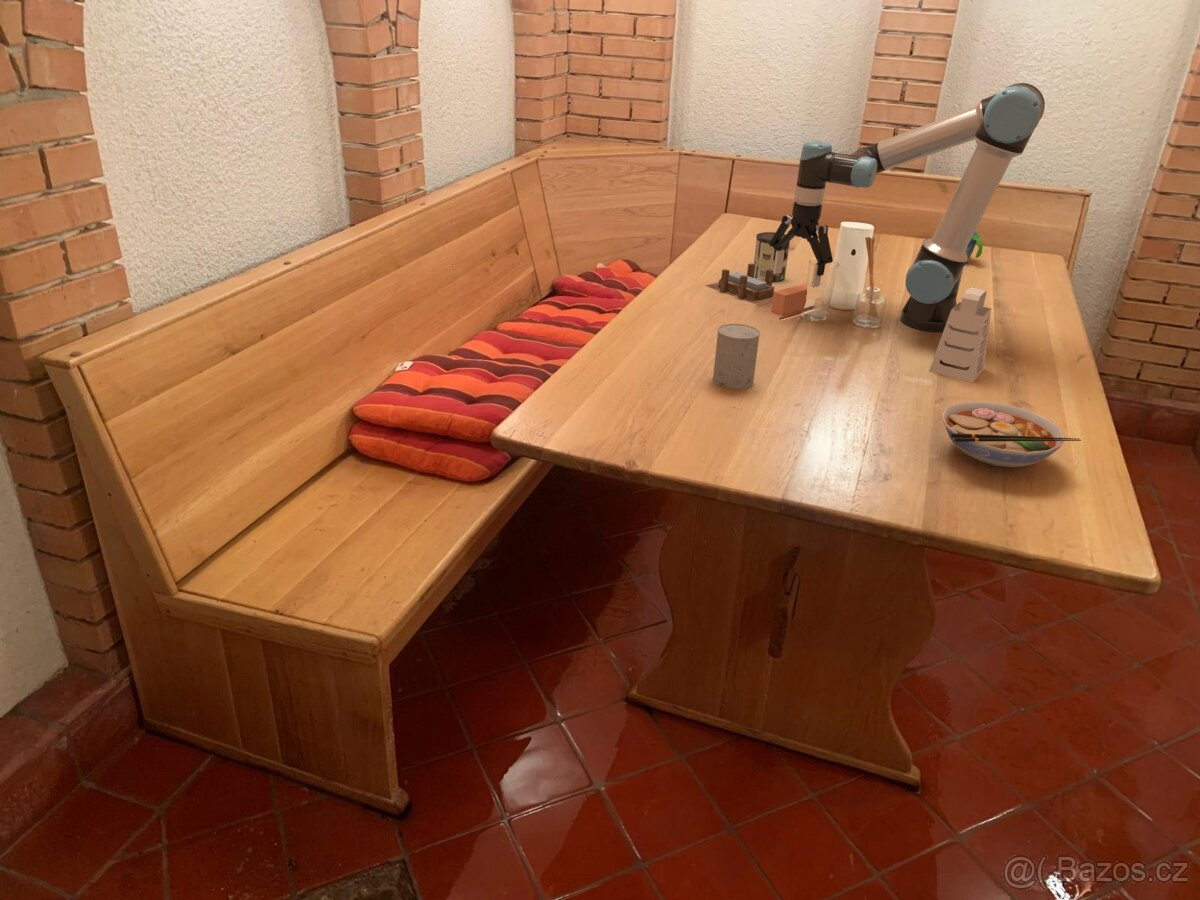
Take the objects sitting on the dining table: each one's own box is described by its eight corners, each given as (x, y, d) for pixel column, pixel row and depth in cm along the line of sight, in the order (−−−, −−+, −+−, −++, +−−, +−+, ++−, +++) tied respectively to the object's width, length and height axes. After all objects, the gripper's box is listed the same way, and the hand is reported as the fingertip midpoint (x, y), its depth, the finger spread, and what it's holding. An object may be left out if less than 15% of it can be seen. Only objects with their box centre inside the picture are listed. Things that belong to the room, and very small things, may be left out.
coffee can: (781, 276, 287) (787, 232, 280) (787, 286, 278) (793, 241, 271) (749, 275, 287) (754, 231, 280) (753, 285, 278) (758, 239, 271)
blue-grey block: (765, 295, 265) (767, 282, 263) (756, 298, 263) (757, 284, 261) (735, 285, 273) (736, 272, 271) (726, 287, 271) (727, 274, 269)
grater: (983, 369, 224) (1003, 290, 215) (972, 382, 216) (993, 301, 207) (941, 358, 229) (958, 281, 220) (928, 371, 221) (946, 292, 212)
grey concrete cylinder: (721, 390, 206) (727, 339, 200) (706, 374, 214) (711, 324, 209) (760, 387, 209) (767, 337, 203) (743, 371, 217) (749, 322, 211)
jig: (787, 301, 265) (791, 276, 261) (758, 309, 257) (761, 283, 254) (732, 282, 280) (735, 257, 276) (703, 289, 272) (705, 264, 269)
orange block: (813, 310, 259) (817, 287, 256) (781, 319, 251) (784, 295, 248) (802, 306, 262) (806, 283, 259) (770, 315, 254) (773, 291, 250)
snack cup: (985, 266, 307) (993, 236, 302) (963, 269, 302) (970, 239, 298) (950, 254, 319) (956, 225, 314) (928, 257, 314) (934, 228, 310)
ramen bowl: (1028, 433, 193) (1038, 398, 189) (1082, 487, 172) (1095, 449, 169) (912, 431, 191) (920, 395, 188) (953, 485, 171) (963, 447, 167)
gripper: (855, 211, 236) (840, 289, 246) (781, 191, 253) (770, 266, 263) (837, 214, 232) (823, 294, 242) (763, 194, 248) (753, 269, 258)
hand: (795, 279), depth 252 cm, fingers open, 13 cm apart
